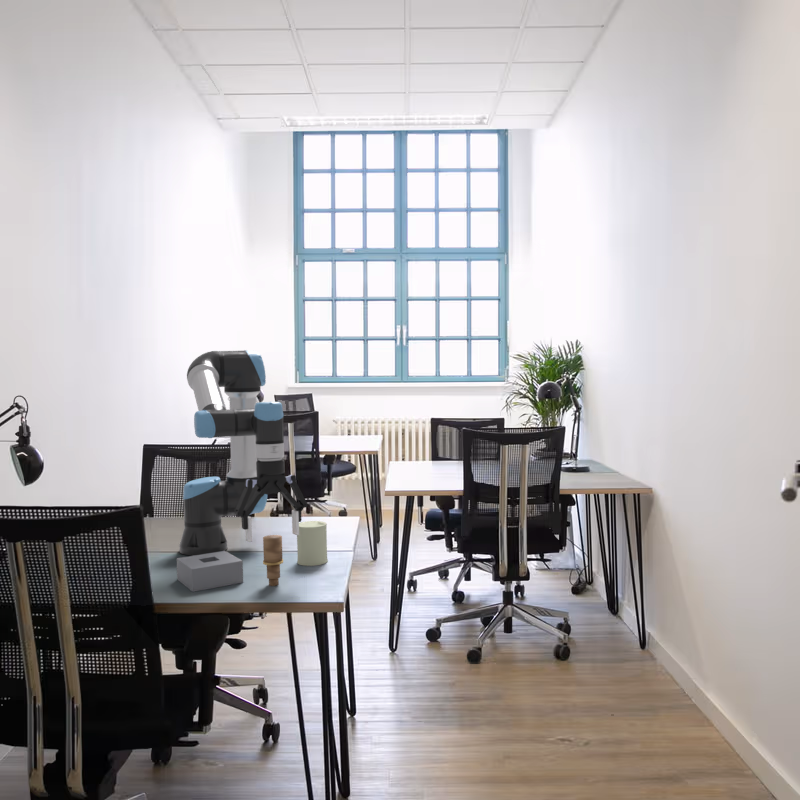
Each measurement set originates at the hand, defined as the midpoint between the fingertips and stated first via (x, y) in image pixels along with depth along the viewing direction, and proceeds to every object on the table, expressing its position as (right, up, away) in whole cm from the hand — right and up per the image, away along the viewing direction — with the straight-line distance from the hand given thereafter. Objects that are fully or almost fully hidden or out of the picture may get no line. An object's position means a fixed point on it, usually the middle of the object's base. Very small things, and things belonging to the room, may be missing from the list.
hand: (272, 537), depth 198 cm
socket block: (-18, -13, +6) cm, 23 cm away
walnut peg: (0, -13, +1) cm, 13 cm away
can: (+8, -12, +24) cm, 28 cm away
